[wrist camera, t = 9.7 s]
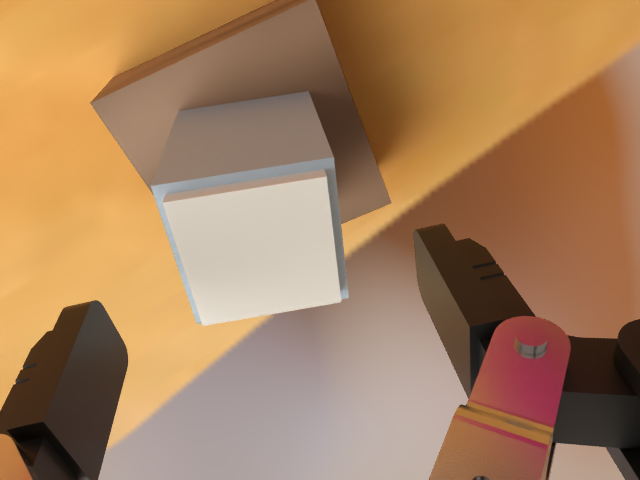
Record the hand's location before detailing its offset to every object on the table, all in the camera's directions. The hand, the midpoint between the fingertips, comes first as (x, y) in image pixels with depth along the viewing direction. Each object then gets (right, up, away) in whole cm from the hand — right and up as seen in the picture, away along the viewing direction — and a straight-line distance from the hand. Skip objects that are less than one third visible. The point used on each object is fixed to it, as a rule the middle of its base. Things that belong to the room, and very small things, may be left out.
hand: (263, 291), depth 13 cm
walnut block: (-2, +7, +11) cm, 13 cm away
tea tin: (-1, +5, +8) cm, 9 cm away
